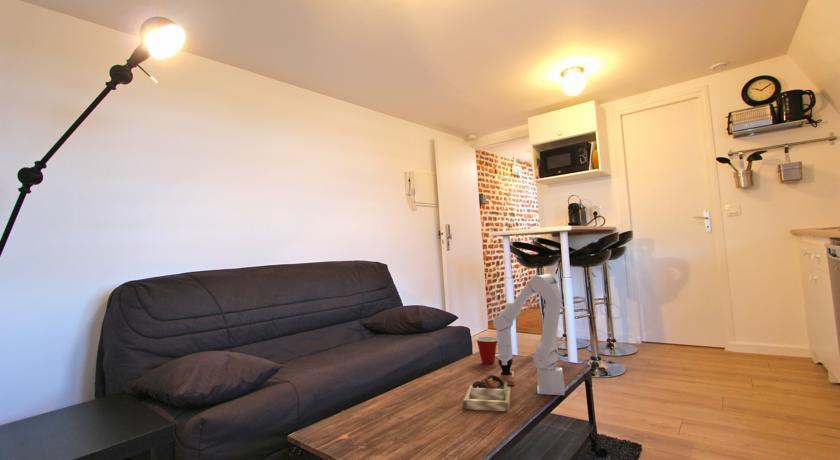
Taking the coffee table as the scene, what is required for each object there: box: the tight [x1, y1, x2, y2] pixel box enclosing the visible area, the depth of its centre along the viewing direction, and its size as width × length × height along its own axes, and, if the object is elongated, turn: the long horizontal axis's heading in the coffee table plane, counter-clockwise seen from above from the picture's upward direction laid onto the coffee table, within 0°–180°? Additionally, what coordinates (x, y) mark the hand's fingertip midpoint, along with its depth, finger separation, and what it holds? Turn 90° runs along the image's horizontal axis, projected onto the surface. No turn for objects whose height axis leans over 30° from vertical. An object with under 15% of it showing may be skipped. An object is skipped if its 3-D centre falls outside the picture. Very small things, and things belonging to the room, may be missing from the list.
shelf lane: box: [462, 384, 512, 412], centre depth 142 cm, size 15×16×3 cm
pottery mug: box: [472, 374, 504, 389], centre depth 146 cm, size 12×10×8 cm
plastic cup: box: [475, 336, 498, 366], centre depth 188 cm, size 11×11×12 cm
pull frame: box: [471, 370, 516, 401], centre depth 152 cm, size 15×23×4 cm, turn 164°
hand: (506, 377), depth 160 cm, fingers closed
